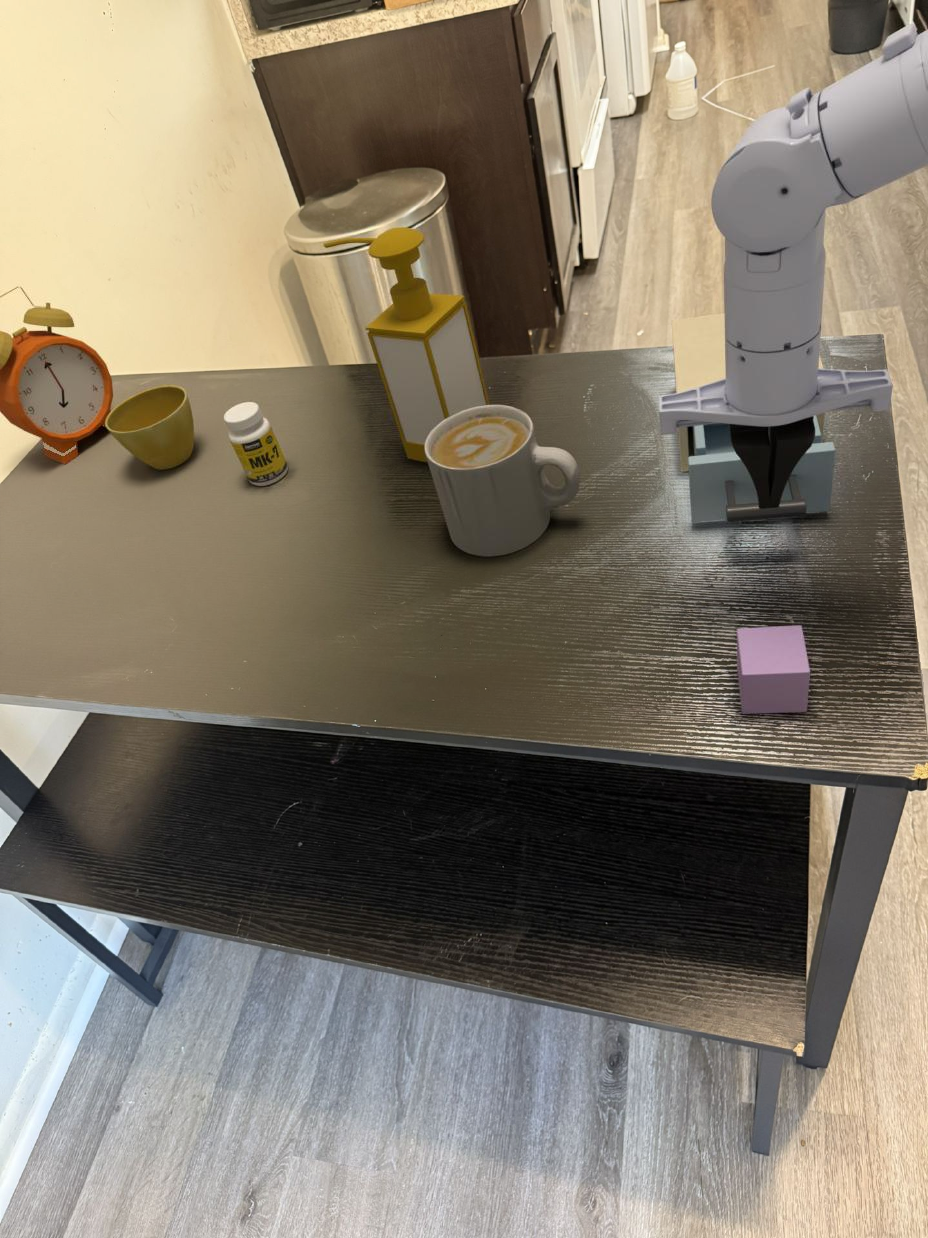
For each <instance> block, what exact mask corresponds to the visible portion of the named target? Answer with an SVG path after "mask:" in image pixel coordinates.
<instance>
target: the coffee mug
mask: <svg viewBox="0 0 928 1238" xmlns="http://www.w3.org/2000/svg"><path fill="white" fill-rule="evenodd" d="M535 431H536V430H535V426H534V423H533V421H532V419H531V417H530V415H528V414H527V413H526V412H525V411H524V410H521V409H519V408H517V407H514V406H510V405H505V404H490V405H485V406H478V407H473V408H470V409H467V410H463V411H461V412H458V413H456V414H454V415H452V416H450V417H448V418H446V419H445V420H443V421H442V422H441V423H439V424H438V425H437V426H436V427H435V428H434V429H433V430H432V431H431V432H430V434H429V435H428V437H427V439H426V442H425V454H426V458H427V461H428V462H427V464H428V468H429V471H430V474H431V477H432V481H433V484H434V487H435V491H436V494H437V497H438V501H439V504H440V507H441V511H442V513H443V516H444V520H445V523H446V527H447V530H448V533H449V537H450V540H451V542H452V543H453V544H454V545H455V547H457V548H458V549H459V550H461V551H463V552H465V553H467V554H469V555H472V556H477V557H500V556H505V555H508V554H512V553H515V552H518V551H521V550H523V549H525V548H527V547H528V546H530V545H531V544H533V543H534V542H536V541H537V540H538V539H539V538H540V537H542V535H543V534H544V533H545V531H546V530H547V528H548V527H549V523H550V520H551V510H552V509H555V508H559V507H561V506H565V505H566V504H568V503H570V502H572V501H573V500H574V499H575V497H576V496H577V494H578V492H579V489H580V481H581V478H580V477H581V475H580V469H579V466H578V463H577V461H576V459H575V458H574V457H573V456H572V454H570V452H568V451H567V450H565V449H562V448H559V447H553V446H540V445H538V441H537V437H536V432H535ZM545 466H554V467H556V468H558V469H559V470H560V471H561V473H562V475H563V477H564V483H565V484H564V486H562V487H561V486H560V487H557V486H555V485H553V484H552V483H550V481H549V480H548V478H547V476H546V473H545V469H544V467H545Z"/></svg>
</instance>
